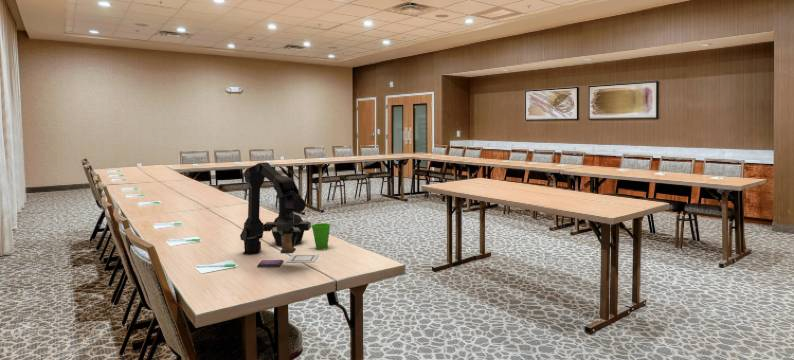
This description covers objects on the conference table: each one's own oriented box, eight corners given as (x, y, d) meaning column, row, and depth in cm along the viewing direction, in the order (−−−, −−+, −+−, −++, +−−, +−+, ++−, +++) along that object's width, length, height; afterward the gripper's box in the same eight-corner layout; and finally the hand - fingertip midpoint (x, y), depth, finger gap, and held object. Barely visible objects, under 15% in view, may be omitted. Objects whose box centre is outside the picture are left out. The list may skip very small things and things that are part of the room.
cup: (327, 250, 224) (326, 227, 222) (309, 250, 225) (308, 226, 224) (334, 245, 232) (333, 223, 231) (316, 245, 234) (315, 222, 233)
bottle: (310, 244, 236) (307, 183, 233) (276, 249, 228) (273, 185, 225) (299, 237, 250) (297, 179, 246) (267, 242, 242) (264, 182, 238)
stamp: (280, 253, 198) (279, 236, 197) (283, 250, 203) (282, 233, 202) (292, 253, 198) (292, 236, 197) (295, 250, 203) (294, 233, 202)
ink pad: (257, 267, 200) (257, 264, 200) (262, 262, 207) (262, 259, 207) (279, 266, 200) (279, 264, 200) (283, 262, 207) (283, 259, 207)
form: (286, 262, 206) (286, 261, 206) (292, 255, 217) (292, 254, 217) (314, 262, 205) (314, 261, 205) (319, 255, 216) (319, 254, 216)
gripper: (257, 213, 190) (259, 252, 192) (304, 212, 190) (306, 251, 192) (265, 208, 201) (267, 245, 203) (310, 207, 201) (311, 244, 203)
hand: (287, 246), depth 200 cm, fingers closed on stamp, 4 cm apart
